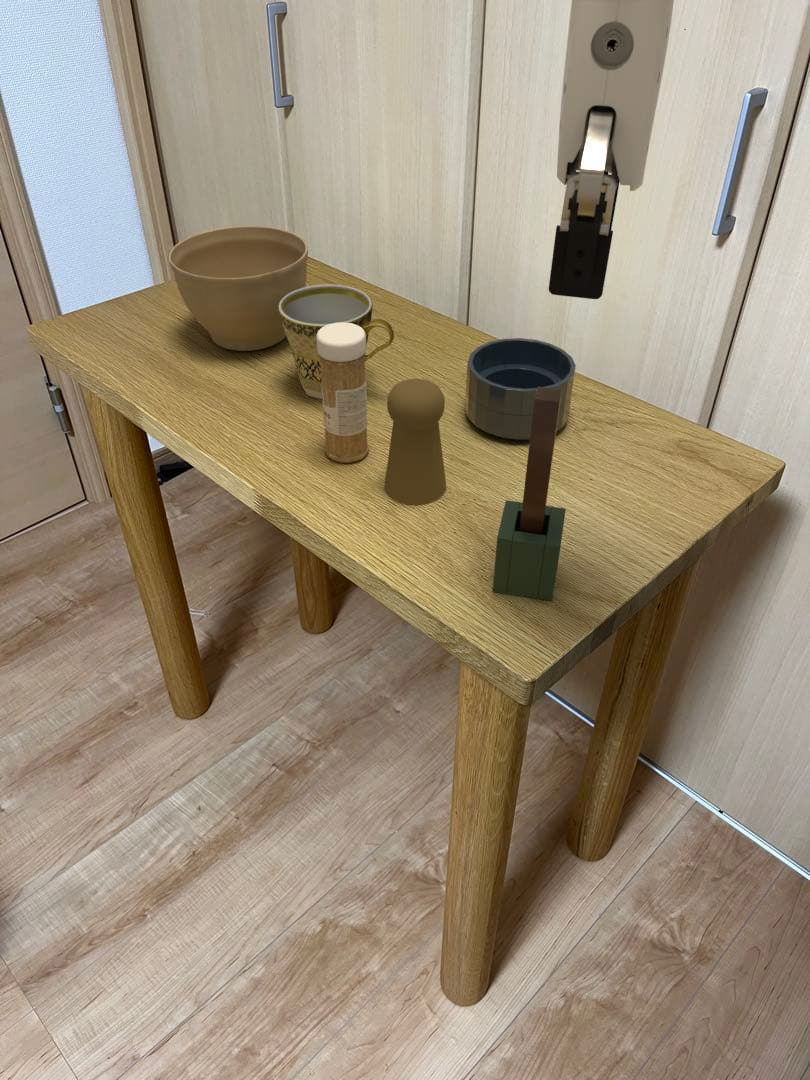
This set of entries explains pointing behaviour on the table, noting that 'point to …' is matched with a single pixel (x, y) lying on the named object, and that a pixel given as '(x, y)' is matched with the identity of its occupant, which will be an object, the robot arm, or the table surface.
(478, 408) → the mixing bowl
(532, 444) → the stirring stick
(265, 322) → the planter bowl
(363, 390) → the sprinkles bottle
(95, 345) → the table surface
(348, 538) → the table surface
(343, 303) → the ceramic cup
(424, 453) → the brown peg doll
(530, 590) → the stick holder
